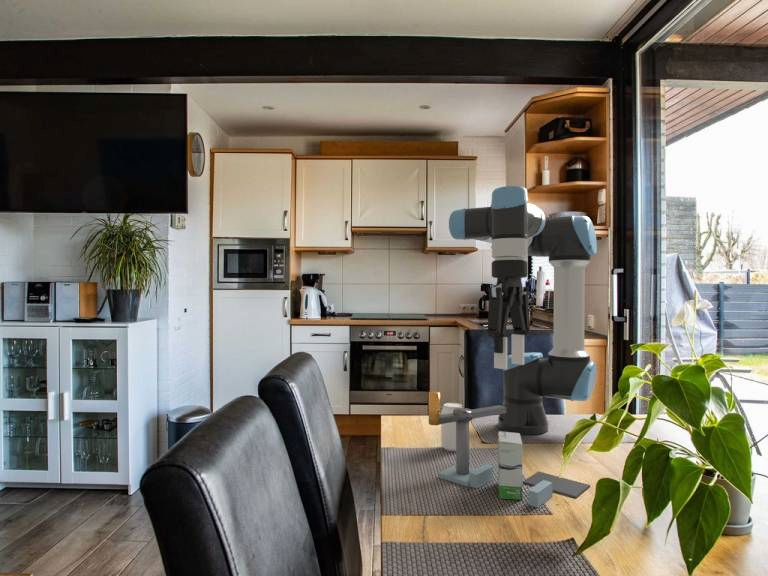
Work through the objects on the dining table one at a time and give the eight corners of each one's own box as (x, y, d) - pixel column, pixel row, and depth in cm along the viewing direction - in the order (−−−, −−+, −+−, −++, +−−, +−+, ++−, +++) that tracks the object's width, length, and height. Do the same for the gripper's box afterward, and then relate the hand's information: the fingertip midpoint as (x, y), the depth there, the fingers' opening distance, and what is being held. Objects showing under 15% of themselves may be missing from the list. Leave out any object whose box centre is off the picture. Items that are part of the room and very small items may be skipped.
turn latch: (424, 422, 112) (424, 391, 112) (496, 409, 123) (496, 381, 123) (435, 427, 108) (435, 395, 108) (509, 413, 119) (509, 384, 119)
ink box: (523, 501, 102) (523, 443, 102) (498, 499, 103) (498, 442, 103) (520, 484, 111) (520, 431, 111) (497, 482, 112) (497, 430, 112)
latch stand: (457, 467, 121) (457, 413, 121) (553, 495, 105) (553, 433, 105) (438, 477, 115) (438, 420, 115) (536, 508, 99) (536, 442, 99)
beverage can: (462, 453, 131) (462, 408, 131) (439, 451, 133) (439, 406, 133) (465, 446, 137) (465, 402, 137) (443, 444, 139) (443, 401, 139)
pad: (538, 473, 117) (538, 471, 117) (590, 486, 109) (590, 484, 109) (522, 483, 111) (522, 481, 111) (576, 498, 103) (576, 496, 103)
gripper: (515, 261, 117) (515, 359, 117) (469, 258, 102) (469, 370, 102) (546, 260, 112) (546, 362, 112) (502, 257, 97) (502, 374, 97)
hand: (509, 366), depth 107 cm, fingers open, 7 cm apart
